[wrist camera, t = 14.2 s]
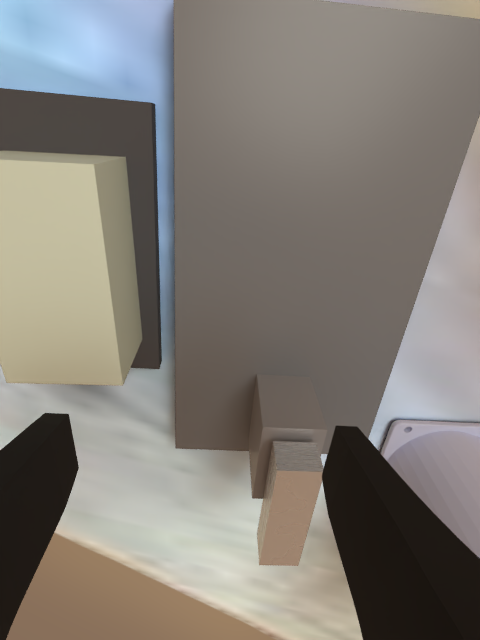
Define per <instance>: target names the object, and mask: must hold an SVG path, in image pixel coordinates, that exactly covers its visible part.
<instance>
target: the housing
mask: <svg viewBox="0 0 480 640" xmlns="http://www.w3.org/2000/svg"><path fill="white" fill-rule="evenodd" d="M479 115H480V19H474V18H466V17H457V16H449V15H440V14H432V13H423V12H415V11H406V10H398V9H389V8H381V7H372V6H364V5H355V4H347V3H338V2H330V1H321V0H174V194H175V444H176V448H182V449H209V450H235V451H249V456H250V472H251V488H252V498H258V499H263V496H264V490H265V484H266V479H267V473H268V467H269V461H270V456H271V450H272V444H273V441H287V442H312V443H316V444H317V447H318V451H319V455H320V456H321V454H328V452H329V448H330V444H331V441H332V437H333V434H334V430H335V426H357V427H358V428H359V429H360V430H361V431H362V432H363V434H364V435H365V436H366V437H367V438H368V437H369V435H370V432H371V429H372V426H373V423H374V420H375V417H376V414H377V411H378V408H379V405H380V403H381V400H382V397H383V394H384V391H385V388H386V385H387V382H388V379H389V376H390V374H391V371H392V368H393V365H394V362H395V359H396V356H397V353H398V350H399V347H400V344H401V342H402V339H403V336H404V333H405V330H406V327H407V324H408V321H409V318H410V315H411V312H412V310H413V307H414V304H415V301H416V298H417V295H418V292H419V289H420V286H421V283H422V281H423V278H424V275H425V272H426V269H427V266H428V263H429V260H430V257H431V254H432V251H433V249H434V246H435V243H436V240H437V237H438V234H439V231H440V228H441V225H442V222H443V220H444V217H445V214H446V211H447V208H448V205H449V202H450V199H451V196H452V193H453V190H454V188H455V185H456V182H457V179H458V176H459V173H460V170H461V167H462V164H463V161H464V159H465V156H466V153H467V150H468V147H469V144H470V141H471V138H472V135H473V132H474V129H475V127H476V124H477V121H478V118H479Z"/></svg>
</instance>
